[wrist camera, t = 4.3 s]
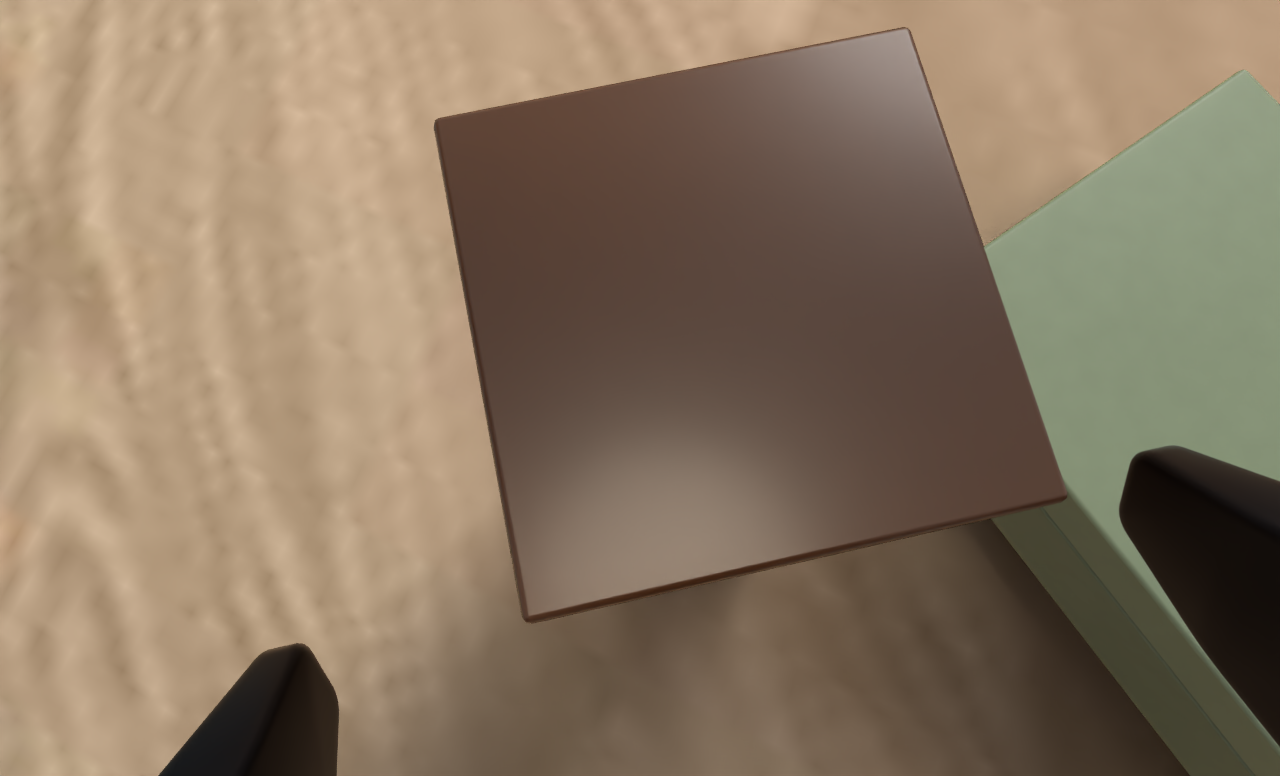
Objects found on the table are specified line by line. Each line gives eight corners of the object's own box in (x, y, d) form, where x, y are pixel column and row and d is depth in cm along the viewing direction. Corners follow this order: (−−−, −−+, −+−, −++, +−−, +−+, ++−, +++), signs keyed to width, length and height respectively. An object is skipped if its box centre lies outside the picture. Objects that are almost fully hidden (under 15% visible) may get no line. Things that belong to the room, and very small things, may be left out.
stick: (756, 543, 17) (1074, 500, 5) (608, 577, 17) (522, 627, 4) (720, 399, 18) (911, 22, 5) (578, 430, 18) (430, 116, 5)
